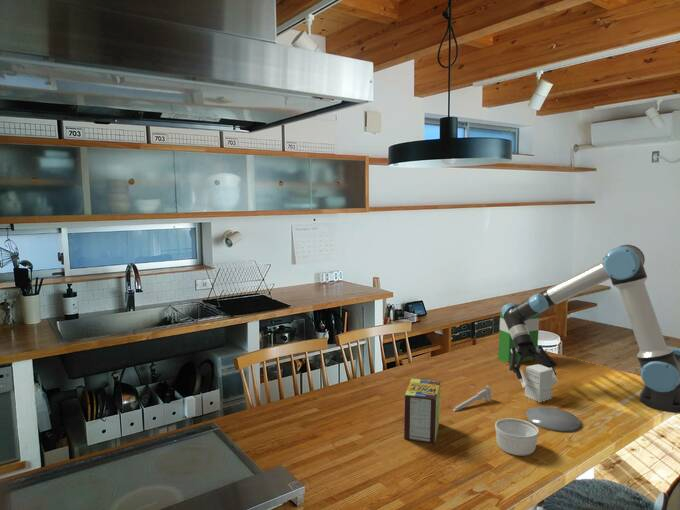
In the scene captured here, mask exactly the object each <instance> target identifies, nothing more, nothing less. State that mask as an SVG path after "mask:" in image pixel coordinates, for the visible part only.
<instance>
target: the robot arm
mask: <svg viewBox="0 0 680 510" xmlns="http://www.w3.org/2000/svg"><path fill="white" fill-rule="evenodd" d="M645 261H646V259H645V254H644V253H643V251H642V250H641V249H640V248H639V247H637V246H635V245H632V244H624V245H619V246H616V247H614V248H612V249H610V250H609V251H608V252H607V253H606V254H605V256H604V257H603V258H602V259H601V261H600V262H598V263H596V264H594V265H592V266H590V267H588V268H587V269H584V270H582V271H581V272H579V273H576V274H575V275H573V276H571V277H569V278H567V279H564V280H562V281H561V282H559V283H556V284H555V285H553V286H551V287H549V288H547V289H545V290H543V291H541V292H539V293H536V294H533V295H531V296H530V297H528V298H527V299H525V300H523V301H522V302H520V303H518V304H517V303H516V302H509V303H507V304H505V305H503V306H502V307H501V311H500V312H502V315H503V319H504V320H505V323H506V325H507V327H508V330H509V333H510V335H511V338H512V340H513V343H514V345H515V348H516V349H515V348H514V347H513V348H512V349H511V350H510V353H511V359H510V363H509V371H510V372H513V373H514V374H515V375H516V378H517V379H518V380H519V381H520V383H521V387H522V388H523V389H525V387H526V386H527V385H528V384H527V382H526V376H525V374H524V372H523V370H522V369H520V368H521V366H522V363H523V362H524V361H523V359H524V358H525V359H527V358H533V359H536V360H535V361H537V362H538V363H540V365H543V366H545V367H548V368H551V369H553V376H552V386H556V385H557V384H558V383H559V379H558V378H557V372H556V369H555V367H556V366H557V365H558V364H557V362H556V361H555V360H554V359H553V358H552V357H551V356H550V355H549V353H547V352H546V350H544V348H543V346H542V345H538V347H535V346H534V345H533V341H532V338H531V336H530V335H529V334H530V333H529V331H528V329H527V326H526V324H525V321H526V320H528V319H530V318H532V317H534V316H536V315H537V314H539V315H540V314H542V313H543V312H545V311H546V310H549V309H550V308H552V307H554V306H556V305H558V304H560V303H563V302H564V301H566V300H567V301H568V300H569V299H571V298H573V297H575V296H578V295H580V294H581V293H583V292H586V291H587V290H589V289H592V288H594V287H596V286H598V285H600V284H602V283H603V282H606V281H608V280H611V284H612V286H614V287H615V288H617V289H618V290H619V293H620V296H621V299H622V301H623V304H624V308H625V312H626V314H627V317H628V319H629V322H630V326H631V328H632V331H633V334H634V337H635V340H636V344H637V346H638V348H639V351H638V352H637V354H636V358H637V359H638V360H637V361H638V364H639V367H640V368H641V369H640V378H641V380H642V382H643V384H644V385H643V387H642V390H641V392H640V394H639V401H640V402H641V403H642V404H643V405H646V406H648V407H650V408H653V409H656V410H660V411H665V412H670V413H678V412H680V347H675V346H671V345H667V344H666V341H665V337H664V336H663V332H662V330H661V327H660V324H659V322H658V318H657V316H656V312H655V309H654V306H653V304H652V301H651V298H650V294H649V291H648V289H647V287H646V284H645V282H646V281H647V279H648V275H647V272H646V270H645V267H644V265H645ZM536 351H537V352H536ZM516 353H518V354H520V356H519V359H518V362H516V363H515V360H516ZM535 355H536V356H535ZM522 361H523V362H522Z"/></svg>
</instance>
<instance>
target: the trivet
mask: <svg viewBox="0 0 680 510" xmlns="http://www.w3.org/2000/svg"><path fill="white" fill-rule="evenodd" d="M526 417H527V418H526ZM525 418H526V420H527V419H528V420H529V421H530V422H529V421H528V422H529V423H531V422H532V423H533V425H534V424H535V426H536V425H537V426H536V427H538V426H540V427H539V428H541V427H542V428H541V429H543V428H546V429H545V430H547V429H549V430H548V431H551V430H552V431H551V432H558V431H559V432H560V433H568V432H574V431H578V429H580V428H581V420H580V418H579V417H578V416H576V415H575V414H573V413H571V412H570V411H567V410H564V409H560V408H556V407H551V406H550V407H549V406H535V407H531V408H529V409H527V410H526V412H525ZM532 423H531V424H532Z"/></svg>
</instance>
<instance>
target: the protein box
mask: <svg viewBox="0 0 680 510" xmlns="http://www.w3.org/2000/svg"><path fill="white" fill-rule="evenodd" d="M440 409H441V381H436V380H428V379H419V378H410V381H409V384H408V386H407V389H406V391H405V394H404V420H403V421H404V422H403V423H404V427H403V431H404V432H403V433H404V434H403V439H404V440H410V441H411V440H412V441H417V442H422V443H423V442H424V443H431V444H436V440H437V437H438V436H437V435H438V430H439V425H440V414H441V413H440Z"/></svg>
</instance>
